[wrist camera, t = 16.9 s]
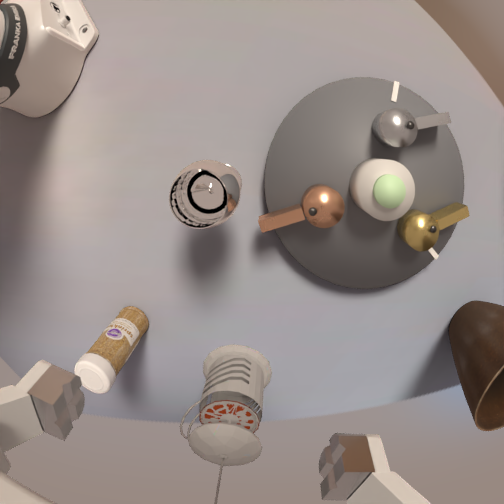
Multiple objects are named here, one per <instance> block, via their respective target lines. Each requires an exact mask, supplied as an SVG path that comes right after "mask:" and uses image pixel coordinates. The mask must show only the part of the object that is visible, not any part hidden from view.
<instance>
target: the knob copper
mask: <svg viewBox="0 0 504 504" xmlns="http://www.w3.org/2000/svg"><path fill="white" fill-rule="evenodd" d="M344 209H345V205H344V201H343V198H342V197H341V195H340V194H339V193H338V192H337V191H336V190H334V189H332V188H331V187H329V186H327V185H324V184H315V185H312V186H310V187H309V188H308V189H307V190H306V191H305V192H304V194H303V196H302V199H301V206H300V204H296V205H293V206H290V207H287V208H283V209H280V210H277V211H274V212H271V213H267V214H264V215H261V216H259V220H258V222H259V225H260V228H261V231H262V233H263V232H267V231H270V230H273V229H276V228H279V227H283V226H286V225H289V224H292V223H296V222H299V221H302V220H305V217H304V214H305V216H306V218H307V220H308V221H309V222H310V223H311V224H312V225H314V226H316V227H319V228H329V227H332V226H334V225H336V224H337V223H338V222H339V221H340V220H341V218H342V216H343V214H344ZM303 212H304V214H303Z"/></svg>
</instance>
